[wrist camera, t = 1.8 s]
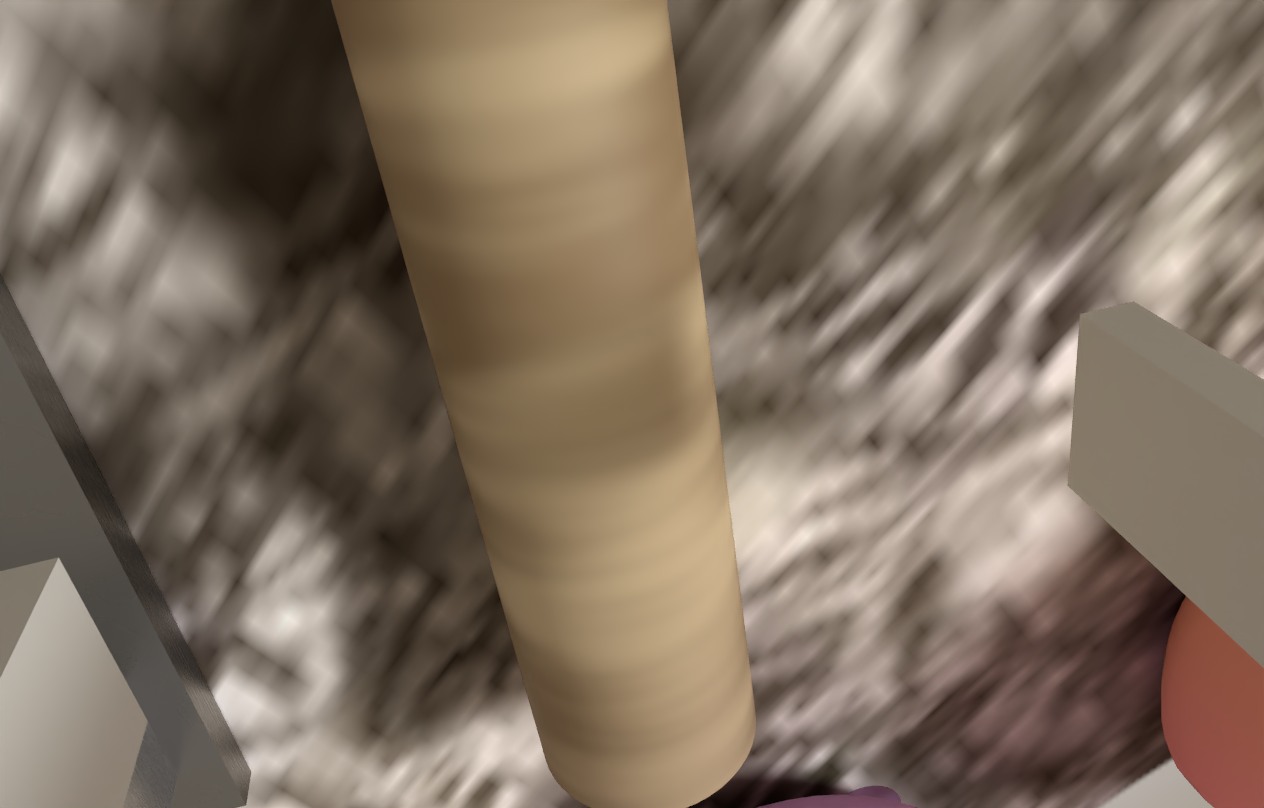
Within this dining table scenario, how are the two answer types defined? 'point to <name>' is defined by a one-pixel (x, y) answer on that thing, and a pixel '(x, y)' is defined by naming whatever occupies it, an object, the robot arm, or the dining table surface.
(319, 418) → the dining table surface
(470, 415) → the baguette
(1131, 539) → the robot arm
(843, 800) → the teapot
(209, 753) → the bracket stand
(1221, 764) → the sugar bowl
